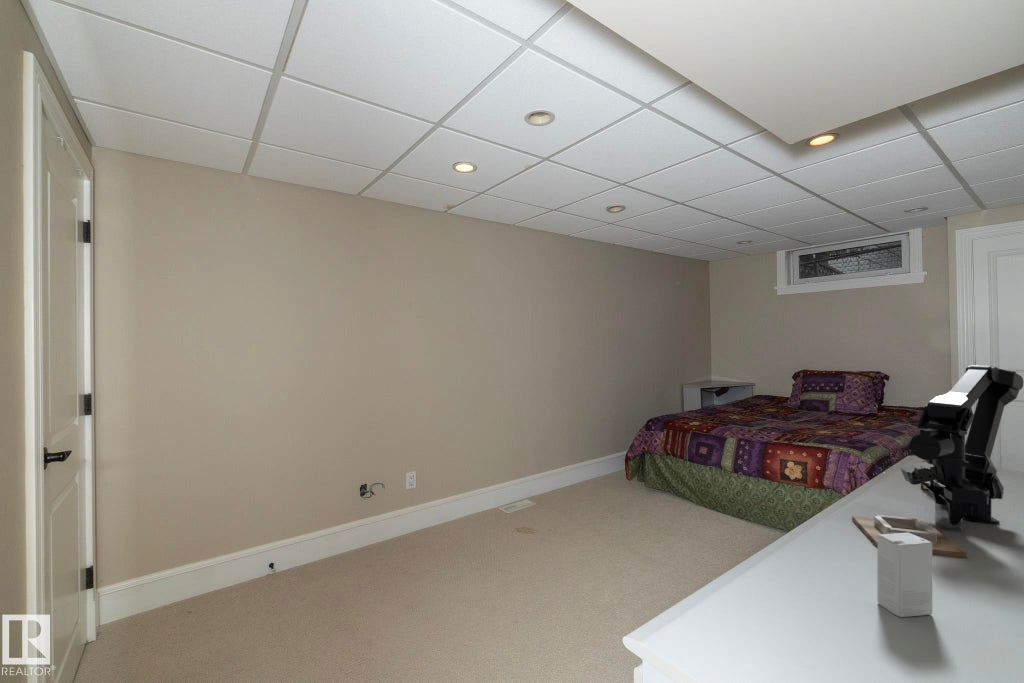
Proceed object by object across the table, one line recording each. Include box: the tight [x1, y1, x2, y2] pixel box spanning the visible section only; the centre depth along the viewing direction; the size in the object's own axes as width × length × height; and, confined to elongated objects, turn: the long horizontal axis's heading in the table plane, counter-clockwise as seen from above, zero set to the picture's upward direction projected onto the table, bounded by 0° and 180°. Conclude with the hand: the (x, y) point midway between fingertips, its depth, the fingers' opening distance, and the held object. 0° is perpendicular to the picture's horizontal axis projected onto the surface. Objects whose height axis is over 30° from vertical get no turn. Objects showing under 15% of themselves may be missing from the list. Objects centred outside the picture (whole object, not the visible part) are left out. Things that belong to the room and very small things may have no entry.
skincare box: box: [876, 533, 933, 618], centre depth 75 cm, size 6×4×12 cm
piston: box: [934, 502, 962, 532], centre depth 106 cm, size 4×4×5 cm
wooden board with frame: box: [851, 513, 968, 559], centre depth 101 cm, size 15×15×3 cm
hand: (948, 520), depth 106 cm, fingers closed on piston, 4 cm apart
